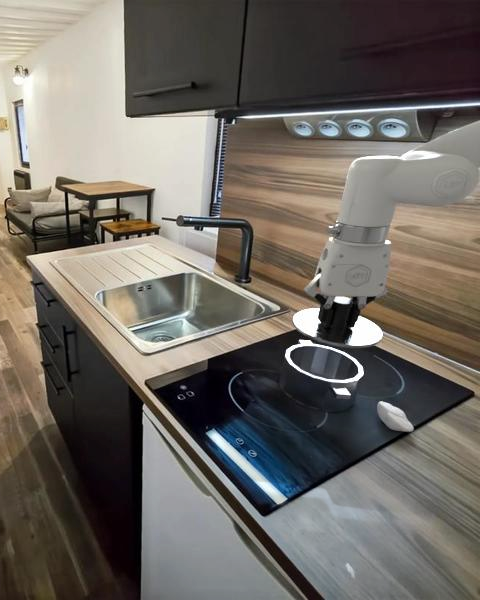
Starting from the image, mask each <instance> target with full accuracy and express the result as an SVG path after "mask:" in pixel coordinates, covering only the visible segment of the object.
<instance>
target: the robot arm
mask: <svg viewBox="0 0 480 600" xmlns="http://www.w3.org/2000/svg"><path fill="white" fill-rule="evenodd" d="M479 168H480V119H479V120H477V121H474V122H471V123H468V124H466V125H464V126H461V127H458V128H456V129H453V130H451V131H449V132H447V133H444V134H443V135H440V136H438V137H436V138H434V139H432V140H429V141H428V142H426V143H424V144H421V145H419V146H417V147H415V148H412V149H411V150H408V151H407V152H406V153H404V154H402V155H401V156H394V155H393V156H392V155H372V156H363V157H359V158H356V159H355V160H353V161H352V162H351V164H350V165H349V168H348V172H347V175H346V179H345V184H344V189H343V192H342V197H341V201H340V206H339V210H338V214H337V218H336V221H335V222H334V225H332V226H327V228H326V231H325V233H326V235H331V236H332V237H329V238H328V240H327V242H326V243H325V245H324V247H323V249H322V252H321V254H320V257H319V260H318V263H317V266H316V270H315V272H314V277H313V278H312V280H311V281H310V282H309V283H308V284H307V285H306V286H305V287H304V288H303V292H304V293H305V294H306V295H307V296H310V297H311V298H313V299H314V300H316V301H317V302H318V303H319V308H318V309H319V313H318V320H319V321H320V323H321V324H322V325H323V326H324V327H329V326H330V323H331V319H332V315H333V309H332V308H331V306H332V304H333V302H334V300H335V297H347V298H350V299H352V300H353V301H354V303H353V307H352V311H351V314H350V318H349V321H348V325H347V326H348V327H350V328H354V327H355V324H356V322H357V321H358V318H359V316H361V312H362V310H364V309H365V308H366V307H367V305H369V304H370V303H372V302H374V301H375V300H376V299H379V298H380V297H381V298H382V297H383V296H386V295H388V293H389V292H388V289H387V286H386V284H387V280H388V275H389V272H390V271H389V270H390V265H391V256H392V242H391V241H390V240H387V238H388V235H389V232H390V229H391V225H392V222H393V218H394V215H395V212H396V208H397V205H398V204H405V205H406V204H407V205H415V206H423V207H444V206H449V205H452V204H455V203H458V202H460V201H462V200H464V199H466V198H467V197H468V196H470V195H471V194H472V193H473V192H474V191H475V190H476V188H477V187H478V184H479V183H480V170H479ZM318 289H319V291H318Z"/></svg>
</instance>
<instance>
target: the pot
mask: <svg viewBox="0 0 480 600" xmlns="http://www.w3.org/2000/svg"><path fill="white" fill-rule="evenodd" d="M364 376H365V374H364V367H363V365H362V364H360V362H359V361H358V360H357V359H356V358H354V357H353V356H351V355H350V354H348V353H346V352H345V351H341V350H339V349H336V348H333V347H331V346H326V345H322V344H316V343H313V342H312V341H311V340H309V339H308V340H306V339H305V340H304V339H298V343H297V344H294V345H292V346H290V347H289V348H287V349H286V350H285V355H284V359H283V363H282V368H281V372H280V375H279V380H278V384H279V387H280V389H281V391H282V392H283V394H284V395H285V396H286V397H287V398H289V399H290V400H292V401H293V402H294V403H297V404H298V405H300V406H302V407H305V408H307V409H310V410H312V411H316V412H321V413H331V414H335V413H336V414H337V413H343V412H346V411H347V410H349V409H350V408H352V406H353V405H354V403H355V401H356V398H357V396H358V393H359V390H360V388H361V387H360V386H361V384H362V381H363V378H364Z"/></svg>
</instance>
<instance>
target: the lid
mask: <svg viewBox="0 0 480 600" xmlns="http://www.w3.org/2000/svg"><path fill="white" fill-rule="evenodd" d="M353 303H354V301H353V300H352V299H351V297H335V300H334V302H333V304H332V306H331V308H332V309H333V315H332V319H331V323H330V326H329V327H324V326H323V325H322V324H321V323H320V321H319V320H318V313H319V309H320V308H308V309H307V308H306V309H303V310H301V311H298V312H296V313H295V314H294V315H293V317H292V325H293V326H294V328H295V329H296V331H298V332H299V333H300V334H302V335H304V337H307V338H309V339H311V340H314V341H316V342H319V343H322V344H324V345H325V344H326V345H329V346H334V347H339V348H347V349H365V348H371V347H374V346H376V345H378V344H380V343H381V341H382V339H383V337H384V335H383V331H382V329H381V328H380V327H379V326H378V325H377V324H375V322H372V321H371V320H369V319H367V318H365V317H362V316H361V315H359V318H358V321H357V322H356V324H355V327H354V328H350V327H348V326H347V325H348V321H349V318H350V314H351V311H352V307H353Z"/></svg>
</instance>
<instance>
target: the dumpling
mask: <svg viewBox="0 0 480 600" xmlns="http://www.w3.org/2000/svg"><path fill="white" fill-rule="evenodd" d="M376 412H377V415H378V417H379V419H380V420H381V421H382V422H383V423H384V424H385V426H386V427H387V428H388V429H390V430H392V431H396V432H406V433H410V432H413V431H414V429H415V428H414V426H413V424H412V423H411V422H410V421H409V419H408V418H407V415H406V413H405V412H404V410H403V409H400V408H399V407H396V406H393V405H392V404H391V403H388V402H387V401H386V402H385V401H383V400H382V401H380V400H379V401H378V402H377V404H376Z"/></svg>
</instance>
